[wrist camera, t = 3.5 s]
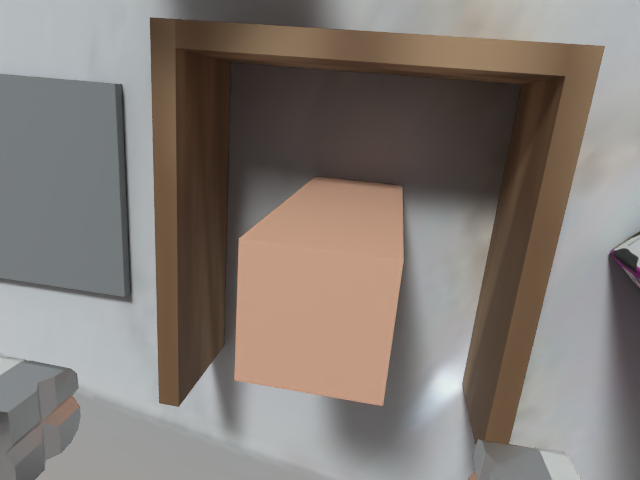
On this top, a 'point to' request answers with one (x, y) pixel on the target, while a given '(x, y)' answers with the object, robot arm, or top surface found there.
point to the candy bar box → (629, 257)
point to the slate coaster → (63, 184)
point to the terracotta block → (322, 291)
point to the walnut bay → (370, 57)
